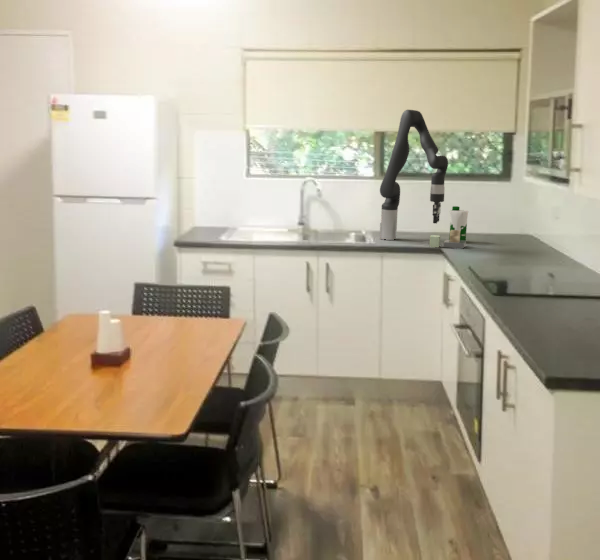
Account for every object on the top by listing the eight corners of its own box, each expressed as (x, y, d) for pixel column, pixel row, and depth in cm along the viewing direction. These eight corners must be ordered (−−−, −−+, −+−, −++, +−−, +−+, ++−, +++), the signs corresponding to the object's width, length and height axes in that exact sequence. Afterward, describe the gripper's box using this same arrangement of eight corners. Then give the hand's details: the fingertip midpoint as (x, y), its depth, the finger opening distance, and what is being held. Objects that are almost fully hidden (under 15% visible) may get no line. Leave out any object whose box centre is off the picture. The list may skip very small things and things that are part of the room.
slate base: (443, 247, 460) (443, 242, 460) (445, 244, 471) (446, 239, 470) (463, 248, 457) (464, 243, 457) (465, 246, 468) (465, 240, 467)
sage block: (429, 247, 461) (429, 236, 460) (430, 245, 466) (431, 235, 465) (438, 247, 460) (439, 236, 459) (439, 246, 465) (440, 235, 464)
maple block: (449, 241, 462) (450, 230, 461) (450, 240, 466) (451, 229, 465) (458, 242, 460) (459, 231, 459) (459, 241, 465) (460, 230, 464)
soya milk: (453, 240, 489) (455, 205, 485) (468, 241, 484) (470, 207, 480) (446, 241, 482) (448, 206, 478) (461, 243, 477) (463, 208, 473)
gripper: (442, 194, 450) (441, 224, 453) (445, 192, 463) (444, 221, 466) (428, 193, 452) (427, 223, 455) (432, 191, 465) (430, 220, 468)
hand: (436, 222), depth 460 cm, fingers open, 8 cm apart
